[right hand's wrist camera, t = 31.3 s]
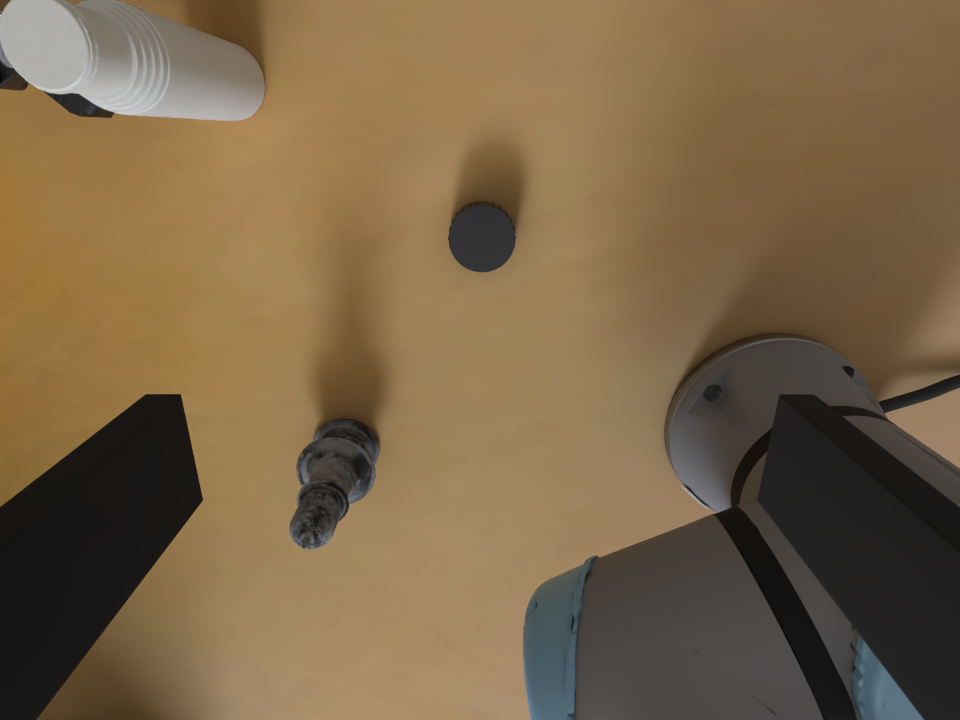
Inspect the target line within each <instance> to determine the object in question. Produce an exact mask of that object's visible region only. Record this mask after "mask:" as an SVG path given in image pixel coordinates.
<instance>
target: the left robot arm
mask: <svg viewBox="0 0 960 720" xmlns="http://www.w3.org/2000/svg"><path fill="white" fill-rule="evenodd" d="M10 1H11V0H0V17H1V14H2V12H3V10H4V8H5V6H6V5H7V4H8V3H9V2H10ZM27 86H28V82H27V81H26V80H25V79H24V78H23V77H22V76H21V75H20V74H19V73H18V72H17V71H16V70H15V69H14V68H13V67H12V65H11V64H10V62H9V61H8V59H7V57H6V55H5V53H4V51H3V48H2V45H1V42H0V89H9V90H19V91H21V90H24V89H26V88H27ZM44 92H45V91H44ZM45 93H46V94H48V95H49V96H50V97H51V98H53V99H54V100H55V101H56V102H58V103H59V104H61V106H63V107H64V108H65V109H66V110H68V111H69V112H70V113H73V114H76V115H78V116H83V117H105V118H111V117H112V116H113V114H114V112H111V111H108V110H105V109H103V108H101V107H99V106H97V105H95V104H94V103H92V102H90V101H89V100H87V99H86V98H84V97H83V96H81V95H80V94H76V93H67V94H54V93H48V92H45Z"/></svg>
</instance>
